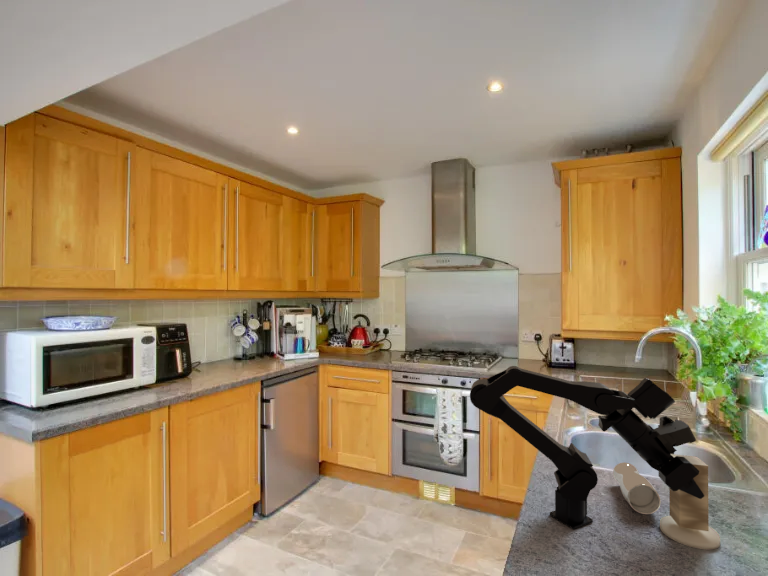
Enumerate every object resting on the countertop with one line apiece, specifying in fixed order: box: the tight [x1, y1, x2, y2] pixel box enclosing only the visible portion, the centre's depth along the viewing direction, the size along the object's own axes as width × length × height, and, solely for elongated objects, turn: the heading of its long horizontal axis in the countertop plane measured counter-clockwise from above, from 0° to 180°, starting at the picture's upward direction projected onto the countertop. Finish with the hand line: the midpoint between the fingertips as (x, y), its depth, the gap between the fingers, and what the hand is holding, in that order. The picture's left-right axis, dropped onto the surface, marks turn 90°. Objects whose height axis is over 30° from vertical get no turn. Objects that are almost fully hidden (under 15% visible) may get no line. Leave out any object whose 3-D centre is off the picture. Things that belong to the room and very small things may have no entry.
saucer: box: [659, 515, 721, 551], centre depth 84 cm, size 10×10×1 cm
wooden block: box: [668, 453, 710, 531], centre depth 84 cm, size 5×5×13 cm
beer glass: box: [612, 462, 662, 516], centre depth 99 cm, size 7×7×15 cm
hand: (695, 491), depth 84 cm, fingers closed on wooden block, 5 cm apart
